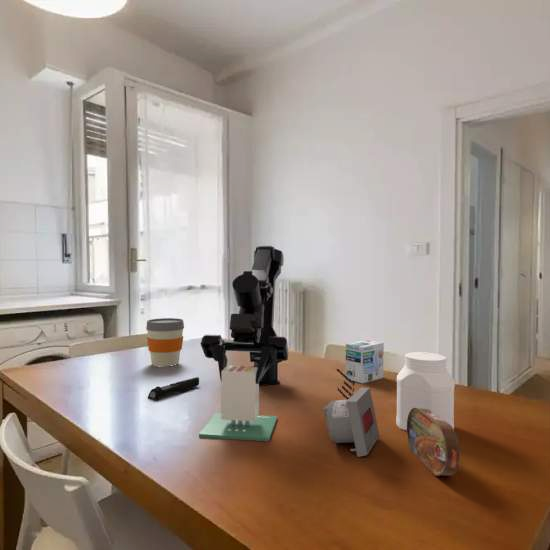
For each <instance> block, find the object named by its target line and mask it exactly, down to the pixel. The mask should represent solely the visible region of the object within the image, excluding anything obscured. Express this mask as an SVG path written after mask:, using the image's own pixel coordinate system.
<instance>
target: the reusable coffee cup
mask: <svg viewBox="0 0 550 550" xmlns="http://www.w3.org/2000/svg"><path fill="white" fill-rule="evenodd" d="M184 324H185V323H184V319H182V318H173V317H167V318H153V319H148V320H146V327H145V328H146V332H147V337H146V340H147V348H148V351H149V353H150V361H151V366H152V365H154V366H171V365H175V364H178V363H179V364H180V356H181V351H182V349H183V343H184V342H183V341H184V335H183V332H184V329H185V325H184ZM179 364H178V365H179ZM154 366H153V367H154ZM171 367H172V366H171Z"/></svg>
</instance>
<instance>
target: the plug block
mask: <svg viewBox="0 0 550 550" xmlns="http://www.w3.org/2000/svg"><path fill="white" fill-rule="evenodd" d="M257 369H258V367H253V365H252V366H251V365H247V366H245V365H239V366H238V365H227V366H226V367H225V368H224V369H223V370H222V371H221V380H220V382H221V383H220V385H221V387H220V388H221V390H220V391H221V396H220V397H221V405H220V406H221V409H220V410H221V412H220V413H221V419H224V420H242V421H255V420H256V418H257V416H258V415H260V413H259V412H260V390H259V389H260V385H259V383H258V384H256V373H257Z"/></svg>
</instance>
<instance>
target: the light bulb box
mask: <svg viewBox="0 0 550 550" xmlns="http://www.w3.org/2000/svg"><path fill="white" fill-rule="evenodd" d="M384 347H385V344H384V342H379V341H373V340H369V339H365V340H360V341H359V340H358V341H354V342H349V343H348V342H347V343H345V375H346V376H347V377H348V378H349V379H351V381H353V380H354V383H355V382H356V383H359V384H366V383H369V382H373V381H376V380H380V379H384V356H385V355H384V354H385V353H384V349H385V348H384Z"/></svg>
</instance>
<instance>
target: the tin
mask: <svg viewBox="0 0 550 550" xmlns="http://www.w3.org/2000/svg"><path fill="white" fill-rule="evenodd" d="M455 430H456V429H455V428H454V429H453V428H452V426H451V425H450V424H448V423H447V422H446V421H444V420H443V419H441V418H440V417H439V416H437V415H436V414H435V413H433V412H432V411H430V410H429V409H421V408H413V409H411V410H410V412H409V415H408V419H407V430H406V435H407V440H408V442H407V443H408V445H409V448H410V450H411V452H412V454H413V455H414V457H416V458H417V459H418V460H419V461H420V462H421V463H422V464H423V466H425V467H426V468H427V470H429V472H430V471H431V472H430V473H433V474H432V475H434V476H435V477H438V476H439V477H440V476H453V475H455V474H456V473H457V472H458V470H459V464H460V450H461V448H460V441H459V437H458V435H457V433H456V431H455Z"/></svg>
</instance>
